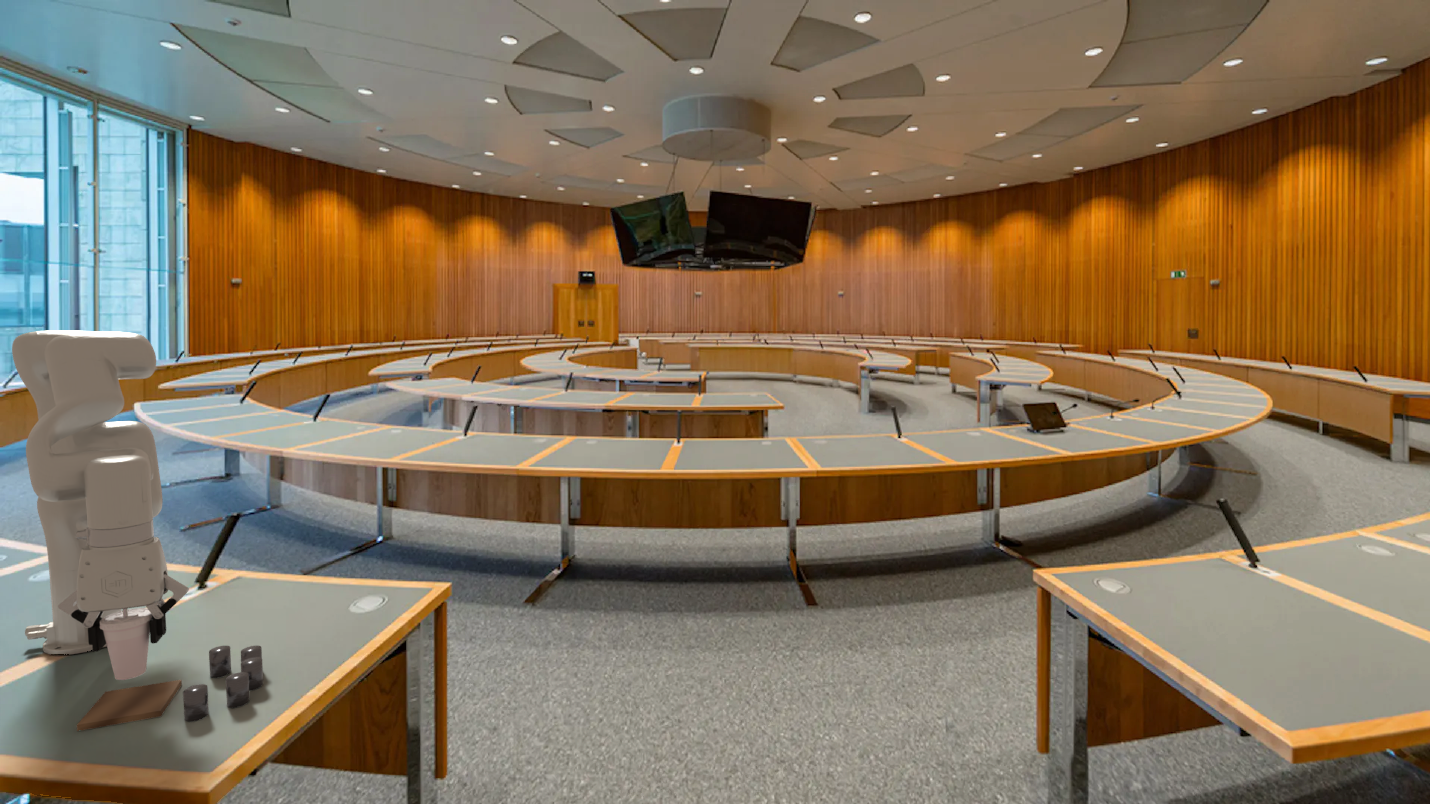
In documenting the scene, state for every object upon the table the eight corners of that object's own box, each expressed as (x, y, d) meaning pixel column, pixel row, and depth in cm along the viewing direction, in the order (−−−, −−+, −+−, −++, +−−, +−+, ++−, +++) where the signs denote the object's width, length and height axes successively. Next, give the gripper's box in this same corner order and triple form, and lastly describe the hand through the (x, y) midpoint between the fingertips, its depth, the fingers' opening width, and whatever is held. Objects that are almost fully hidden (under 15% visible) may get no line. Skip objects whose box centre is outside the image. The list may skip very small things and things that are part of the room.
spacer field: (181, 723, 99) (180, 696, 99) (212, 671, 115) (211, 647, 114) (251, 711, 103) (250, 684, 103) (272, 662, 119) (271, 638, 118)
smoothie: (96, 688, 99) (90, 600, 97) (111, 669, 104) (106, 585, 103) (150, 679, 102) (144, 593, 100) (162, 660, 107) (157, 579, 106)
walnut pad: (77, 731, 97) (76, 725, 97) (105, 697, 106) (105, 691, 106) (161, 716, 101) (160, 710, 101) (181, 685, 110) (181, 679, 110)
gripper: (34, 548, 94) (43, 665, 95) (183, 535, 101) (189, 644, 103) (60, 533, 100) (68, 643, 102) (197, 522, 108) (203, 625, 109)
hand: (128, 642), depth 102 cm, fingers closed on smoothie, 6 cm apart
